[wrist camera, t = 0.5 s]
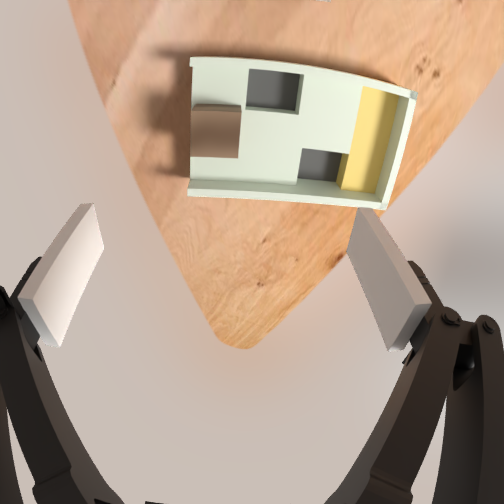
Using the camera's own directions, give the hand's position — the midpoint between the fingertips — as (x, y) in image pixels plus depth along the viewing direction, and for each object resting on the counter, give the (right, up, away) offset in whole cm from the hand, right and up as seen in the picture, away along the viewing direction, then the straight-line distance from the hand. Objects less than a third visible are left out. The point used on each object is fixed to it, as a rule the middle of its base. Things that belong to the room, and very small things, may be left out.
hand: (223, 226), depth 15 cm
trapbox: (+7, +14, +21) cm, 26 cm away
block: (-3, +13, +18) cm, 22 cm away
